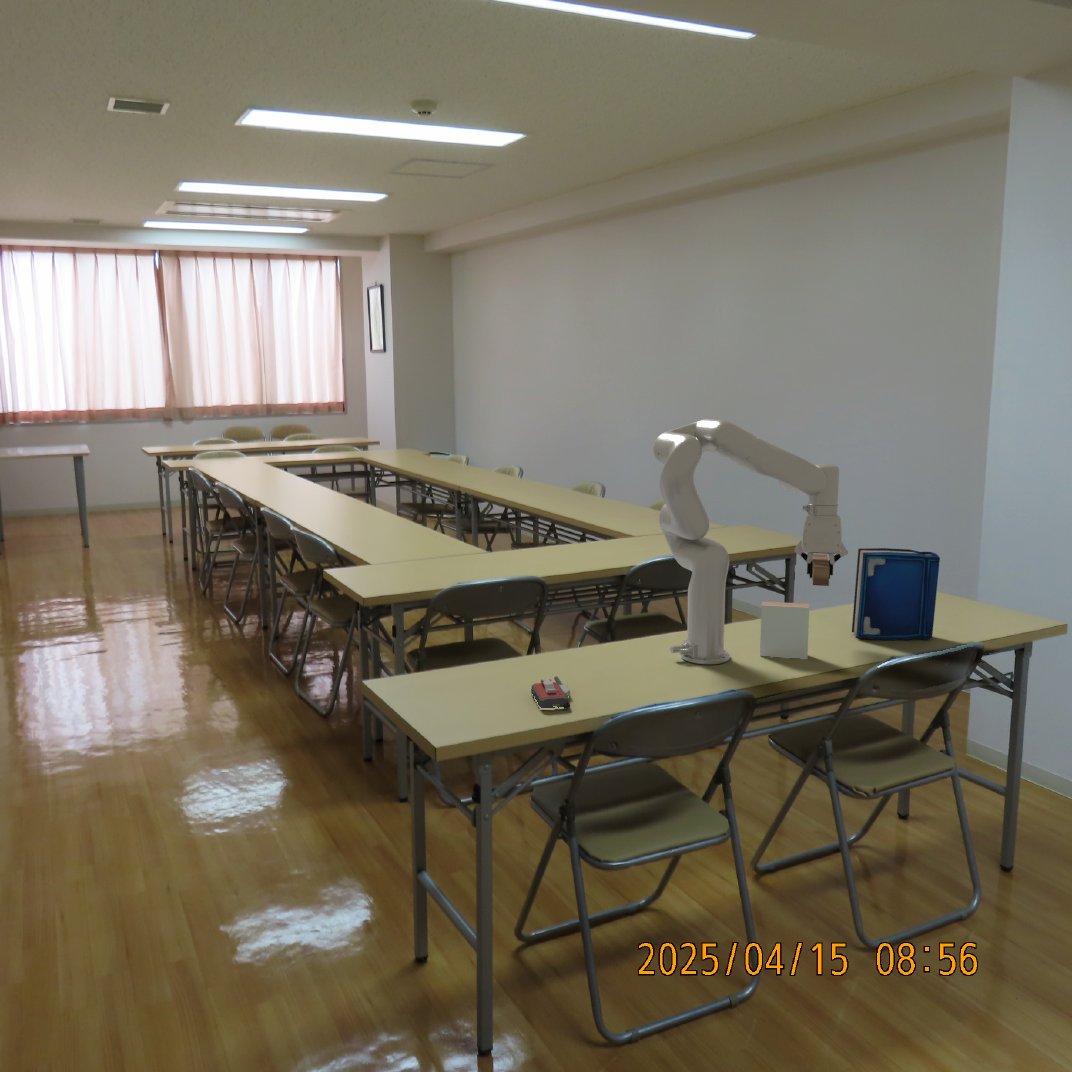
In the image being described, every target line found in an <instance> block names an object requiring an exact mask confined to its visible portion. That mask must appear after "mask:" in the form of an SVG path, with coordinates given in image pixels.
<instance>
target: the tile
mask: <svg viewBox="0 0 1072 1072" xmlns="http://www.w3.org/2000/svg"><path fill="white" fill-rule="evenodd" d="M760 610H761V611H760V613H761V615H760V639H759V640H760V647H759V648H760V649H759V657H760V656H770V657H769V658H773V657H783V658H782V659H789V658H800V659H799V660H805V659H807V660H808V655H809V654H808V652H809V651H808V649H809V628H810V626H809V625H810V623H809V622H810V603H800V602H779V601H778V602H777V601H761V609H760Z"/></svg>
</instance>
